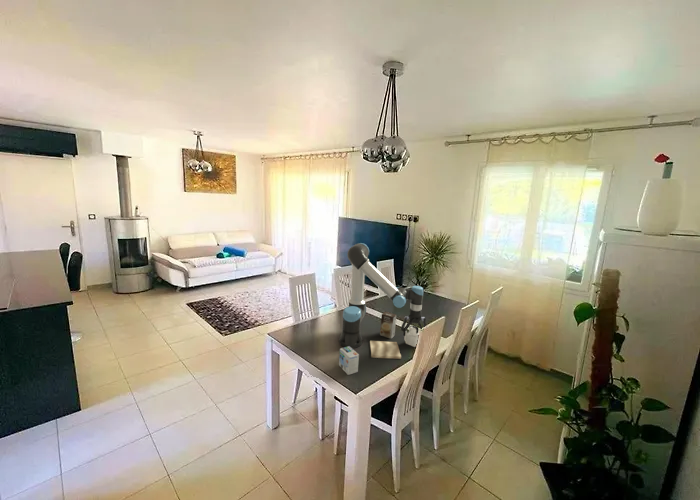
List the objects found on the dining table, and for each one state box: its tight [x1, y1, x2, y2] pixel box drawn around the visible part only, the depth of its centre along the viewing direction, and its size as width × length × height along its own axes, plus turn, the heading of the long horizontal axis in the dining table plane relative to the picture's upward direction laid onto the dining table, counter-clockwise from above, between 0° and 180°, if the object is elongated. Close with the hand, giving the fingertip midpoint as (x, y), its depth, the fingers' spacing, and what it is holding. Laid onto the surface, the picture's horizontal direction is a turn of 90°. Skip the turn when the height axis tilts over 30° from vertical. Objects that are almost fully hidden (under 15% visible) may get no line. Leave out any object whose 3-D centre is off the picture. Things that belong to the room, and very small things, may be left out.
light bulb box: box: [338, 346, 360, 376], centre depth 168 cm, size 11×7×11 cm, turn 32°
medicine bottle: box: [405, 325, 420, 348], centre depth 200 cm, size 7×7×12 cm
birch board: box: [369, 340, 402, 360], centre depth 190 cm, size 18×18×2 cm
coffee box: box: [379, 311, 397, 340], centre depth 209 cm, size 9×6×16 cm
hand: (412, 340), depth 201 cm, fingers closed on medicine bottle, 10 cm apart
